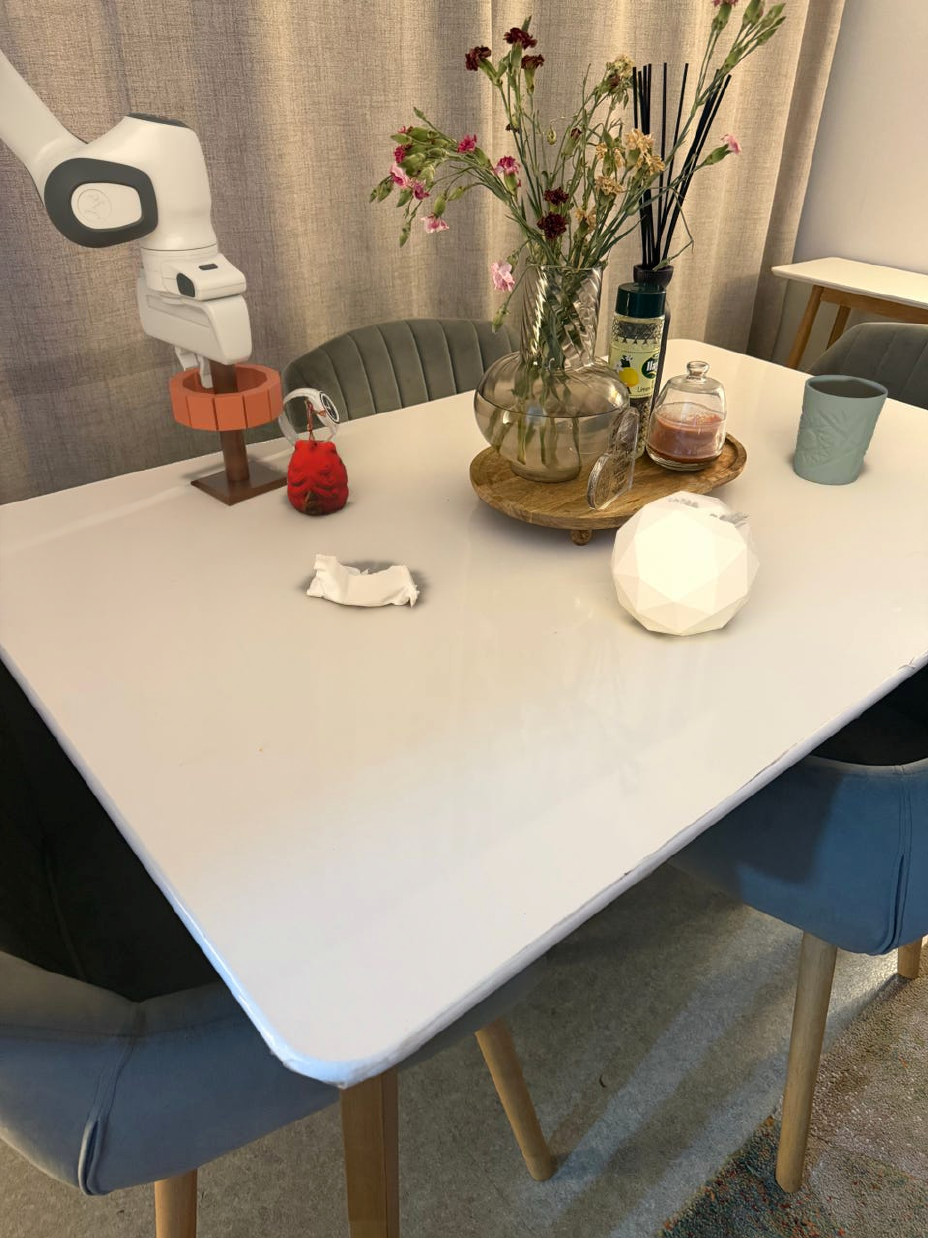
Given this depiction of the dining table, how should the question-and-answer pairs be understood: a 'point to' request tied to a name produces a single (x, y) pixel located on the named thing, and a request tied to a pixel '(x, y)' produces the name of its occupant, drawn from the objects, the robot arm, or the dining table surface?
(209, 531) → the dining table surface
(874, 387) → the green embossed cup
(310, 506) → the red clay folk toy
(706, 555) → the geodesic sphere
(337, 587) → the fabric
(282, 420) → the watch
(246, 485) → the peg stand
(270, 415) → the hoop
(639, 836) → the dining table surface
